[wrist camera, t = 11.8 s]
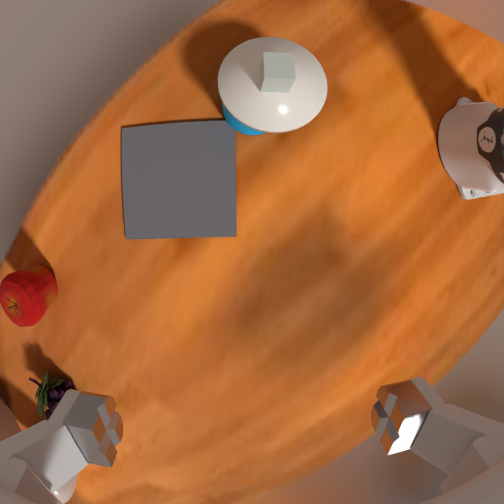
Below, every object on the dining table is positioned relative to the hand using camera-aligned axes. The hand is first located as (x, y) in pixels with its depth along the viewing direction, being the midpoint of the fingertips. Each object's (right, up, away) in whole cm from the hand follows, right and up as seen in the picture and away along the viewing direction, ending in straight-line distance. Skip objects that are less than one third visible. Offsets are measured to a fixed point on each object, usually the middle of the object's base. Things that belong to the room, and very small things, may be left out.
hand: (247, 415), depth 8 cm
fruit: (-38, -23, +41) cm, 60 cm away
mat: (-10, +15, +32) cm, 36 cm away
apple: (-35, 0, +35) cm, 49 cm away
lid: (+2, +23, +22) cm, 32 cm away
